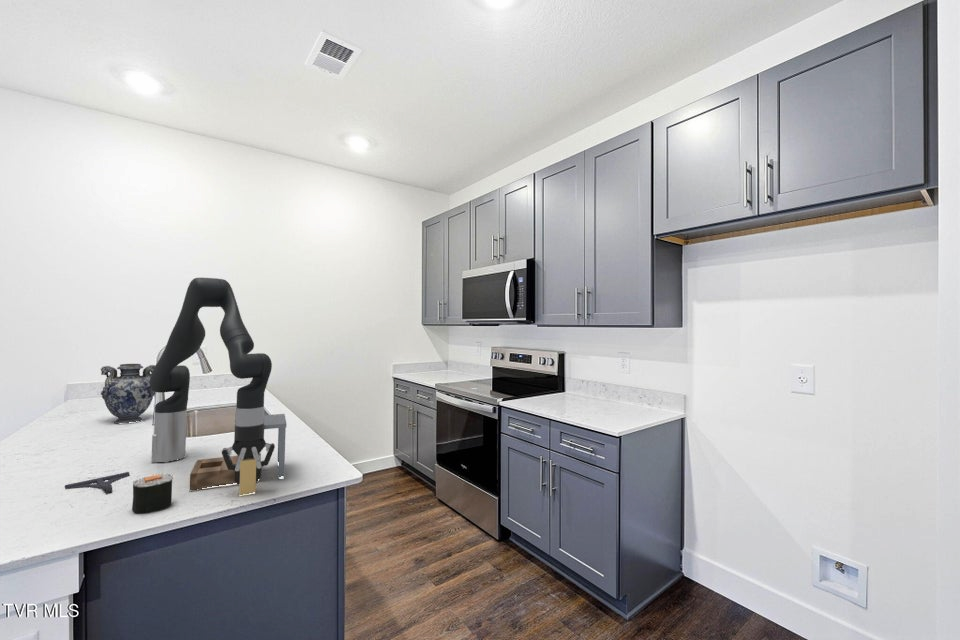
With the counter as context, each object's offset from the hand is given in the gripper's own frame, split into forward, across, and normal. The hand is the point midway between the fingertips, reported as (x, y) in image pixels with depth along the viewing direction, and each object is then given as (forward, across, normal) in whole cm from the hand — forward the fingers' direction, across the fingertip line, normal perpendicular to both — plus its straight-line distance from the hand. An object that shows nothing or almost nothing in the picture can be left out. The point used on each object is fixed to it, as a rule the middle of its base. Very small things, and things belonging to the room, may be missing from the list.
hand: (248, 481), depth 119 cm
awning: (+3, +4, +15) cm, 16 cm away
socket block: (+3, -6, +15) cm, 16 cm away
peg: (+3, 0, 0) cm, 3 cm away
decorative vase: (+4, -55, +120) cm, 132 cm away
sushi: (+4, -22, 0) cm, 22 cm away
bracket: (+4, -38, +22) cm, 44 cm away
